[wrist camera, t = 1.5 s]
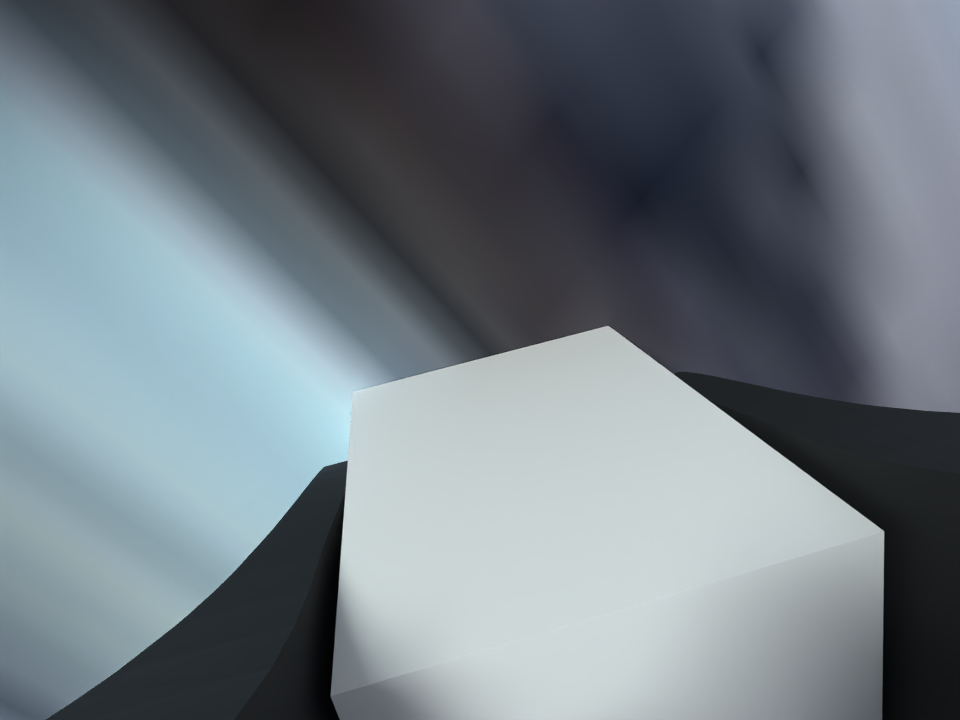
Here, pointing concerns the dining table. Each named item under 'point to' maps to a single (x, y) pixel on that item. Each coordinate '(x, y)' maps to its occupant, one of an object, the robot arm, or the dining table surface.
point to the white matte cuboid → (593, 553)
